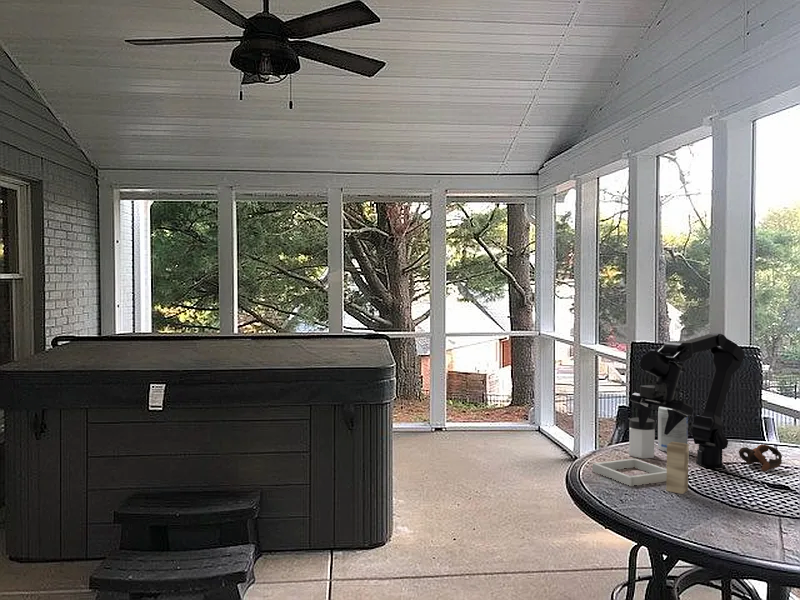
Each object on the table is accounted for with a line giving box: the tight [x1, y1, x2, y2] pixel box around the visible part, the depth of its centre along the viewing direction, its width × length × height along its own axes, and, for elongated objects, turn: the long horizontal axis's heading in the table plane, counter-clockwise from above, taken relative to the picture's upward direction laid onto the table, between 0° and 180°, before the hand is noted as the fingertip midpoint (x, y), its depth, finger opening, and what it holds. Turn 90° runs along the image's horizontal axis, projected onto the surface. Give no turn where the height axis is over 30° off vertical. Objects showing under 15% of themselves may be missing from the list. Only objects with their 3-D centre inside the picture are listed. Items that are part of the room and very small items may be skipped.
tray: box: [592, 457, 667, 487], centre depth 207 cm, size 16×16×2 cm
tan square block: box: [665, 442, 690, 495], centre depth 192 cm, size 4×4×13 cm
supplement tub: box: [657, 406, 689, 453], centre depth 238 cm, size 10×10×15 cm
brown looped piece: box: [738, 444, 783, 472], centre depth 217 cm, size 12×10×8 cm
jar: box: [628, 417, 656, 459], centre depth 231 cm, size 9×8×12 cm
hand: (653, 431), depth 206 cm, fingers open, 9 cm apart
